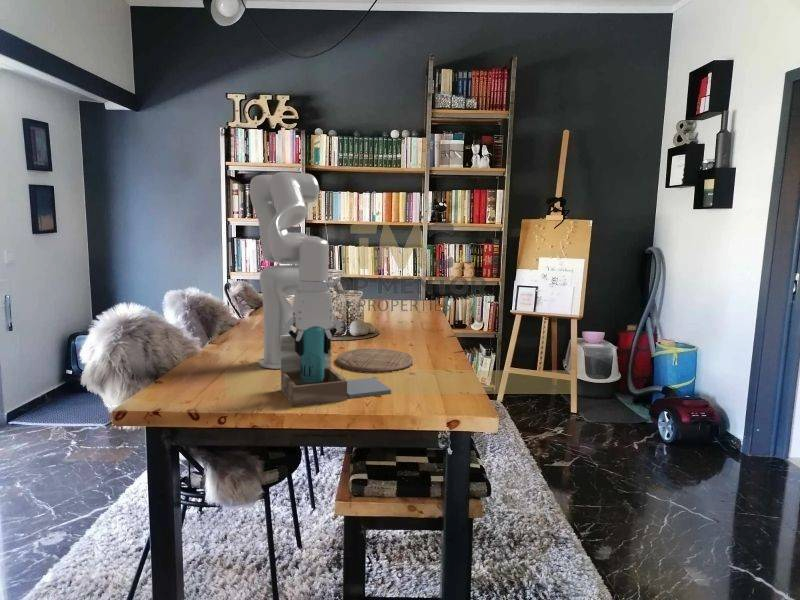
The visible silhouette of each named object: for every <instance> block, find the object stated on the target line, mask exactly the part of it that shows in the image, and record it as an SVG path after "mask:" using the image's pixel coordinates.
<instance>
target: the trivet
mask: <svg viewBox="0 0 800 600" xmlns="http://www.w3.org/2000/svg"><path fill="white" fill-rule="evenodd" d="M336 359H337V360H336V361H337V365H338V366H339V365H340V366H339V367H341V368H342V367H344V368H343V369H345V368H346V369H345V370H348V369H349V371H352V370H354V371H353V372H357V371H361V372H360V373H365V372H372V373H371V374H378V373H377V372H388V373H393V372H392V371H396V372H400V371H399V370H401V371H405V370H406V368H407V369H409V368H410V366H411V367H412V366H413V360H414V359H413V357H412V355H410V354H409V353H406V352H403V351H399V350H394V349H389V348H387V349H386V348H360V349H352V350H347V351H344V352H342V353H340V354H338V356H337V358H336ZM404 369H405V370H404Z"/></svg>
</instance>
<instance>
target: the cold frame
mask: <svg viewBox="0 0 800 600" xmlns="http://www.w3.org/2000/svg"><path fill="white" fill-rule="evenodd" d="M324 357H325V358H324V362H325V363H324V364H325V365H324V379H323V381H320V382H315V383H309V382H304V381H302V380H301V376H300V375H301V374H300V373H301V370H300V362H301V359H300V358H301V356H299V355H298V354H297V352H295V339H294V338H293V337H292V336H291V335H282V336H281V369H280V374H281V375H280V377H281V378H280V380H281V381H280V382H281V383H280V388H281V389H280V390H281V392H282V391H283V392H282V393H283V394H284V395H286V396H285V397H286V398H287V400H288V399H289V400H288V401H289V402H290V404H291V405H292V406H295V407H301V406H310V405H318V403H319V404H325V403H326V402H327V403H334V402H333V401H336V402H343V400H344V401H348V397H347V380H346V379H345V378H344V377H342V376H341V375H340V374H339V373H338V372H337V371H336V370H335V369H333V368H332V338H331V339H330V350H329V353H328V354H326V353H325V352H324Z"/></svg>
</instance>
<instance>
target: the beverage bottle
mask: <svg viewBox="0 0 800 600" xmlns="http://www.w3.org/2000/svg"><path fill="white" fill-rule="evenodd" d="M324 335H325V329H323V328H321V327H319V326H313V327H310V328H308V329H307V330H305V331H304V333H303V335H302V337H301V341H302V356H301V358H300V359H301V362H300V370H301V373H300V374H301V375H300V376H301V380H302V381H304V382H309V383H315V382H320V381H323V379H324V365H325V364H324V363H325V362H324V358H325V357H324Z"/></svg>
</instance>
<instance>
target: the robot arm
mask: <svg viewBox="0 0 800 600" xmlns="http://www.w3.org/2000/svg"><path fill="white" fill-rule="evenodd" d="M319 194H320V185H319V183H318V180H317V178H316V177H315V176H314V175H312V174H310V173H305V172H291V171H279V172H277V173H275V174H259V175H258V174H257V175H255V176H253V177H252V178H251V180H250V182H249V198H250V202H251V205H252V209H254V213H255V215H256V218H257V220H258V221H257V222H258V227H259V235H260V236H259V237H260V238H259V239H260V248H261V253H262V257H263V259H264V260H265V261H267V262H269V263H278V265H270V266H266V267H264V268H263V269H262V270H261V272H260V274H259V284H260V289H261V297H262V308H263V310H262V311H263V312H262V313H263V314H262V315H263V318H262V319H263V324H262V325H263V357H262V358H260V359H259V360H258V365H259V366H260V367H262V368H266V369H277V370H278V369H279V370H281V336H282V335H291V336H292V337H293V338H294V339H295V352H297V354H298V355H299V356H302V341H301V337H302V335H303V333H304V331H305V330H307V329H308V328H310V327H313V326H319V327H321V328H323V329H325V335H324V352H325V353H326V354H328V353H329V350H330V339H331V340H332V338H333V336H334V335H335V334H337V332H338V330H339V329H340V328H341V327H342V326H343V323H342V321H340V320H339V319H338V318H337V317H336V316H335V315H334V307H333V298H332V293H331V291H330V288H331V287H332V288H333V287H334V281H331V280H329V257H330V256H329V255H330V254H329V251H330V248H329V247H330V245H329V241H327V240H326V239H324V238H321V237H319V236H317V235H316V236H314V235H307V234H306V233H303V232H289V231H288V229H290V228H293V227H294V226H297V225H300V224H301V222H304V220H305V219H306V217H307V216H308V207H307V205H306V204H311V203H314V202H316V201H317V199H318V198H319V196H320V195H319ZM279 264H280V265H279ZM288 296H290V297H291V296H293V297H294V298H293V303H292V304H291V302H290V301H289V300H288V299H287V297H288ZM295 329H296V330H295Z"/></svg>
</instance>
